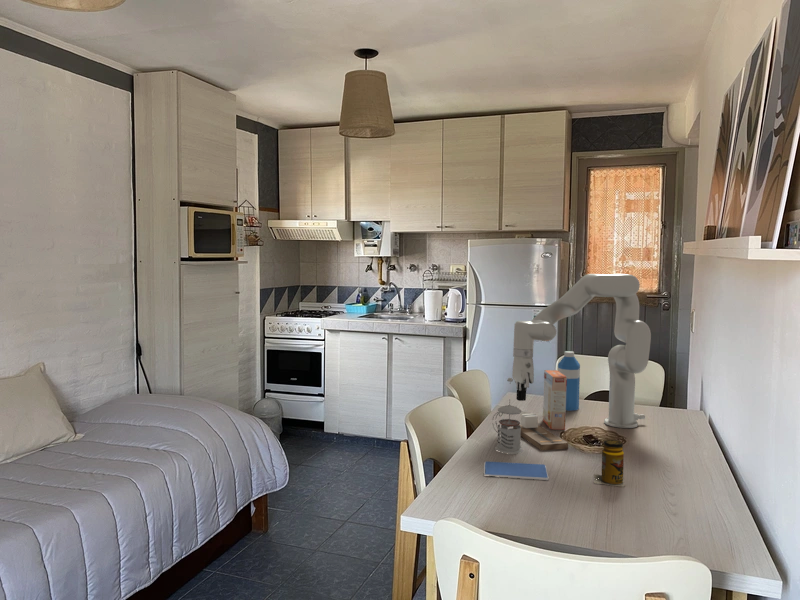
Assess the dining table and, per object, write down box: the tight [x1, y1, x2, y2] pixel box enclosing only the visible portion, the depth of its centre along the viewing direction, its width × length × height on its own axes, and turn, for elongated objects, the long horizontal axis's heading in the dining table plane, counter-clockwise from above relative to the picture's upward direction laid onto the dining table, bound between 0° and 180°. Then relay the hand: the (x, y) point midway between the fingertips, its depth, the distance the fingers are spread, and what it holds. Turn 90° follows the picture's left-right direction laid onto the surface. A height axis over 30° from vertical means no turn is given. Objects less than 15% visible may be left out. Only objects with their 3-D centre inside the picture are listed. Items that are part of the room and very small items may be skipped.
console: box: [512, 424, 569, 451], centre depth 216 cm, size 10×24×2 cm, turn 13°
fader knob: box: [520, 413, 539, 428], centre depth 224 cm, size 5×4×4 cm
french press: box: [492, 377, 524, 455], centre depth 204 cm, size 10×12×25 cm
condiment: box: [593, 439, 626, 488], centre depth 175 cm, size 7×8×12 cm
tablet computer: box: [483, 461, 550, 481], centre depth 183 cm, size 19×13×1 cm, turn 81°
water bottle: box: [557, 350, 581, 412], centre depth 261 cm, size 9×9×25 cm
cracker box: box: [542, 369, 567, 431], centre depth 234 cm, size 14×6×21 cm, turn 179°
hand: (521, 400), depth 230 cm, fingers closed
